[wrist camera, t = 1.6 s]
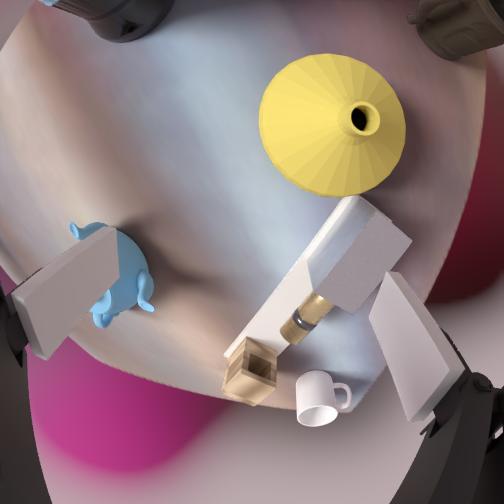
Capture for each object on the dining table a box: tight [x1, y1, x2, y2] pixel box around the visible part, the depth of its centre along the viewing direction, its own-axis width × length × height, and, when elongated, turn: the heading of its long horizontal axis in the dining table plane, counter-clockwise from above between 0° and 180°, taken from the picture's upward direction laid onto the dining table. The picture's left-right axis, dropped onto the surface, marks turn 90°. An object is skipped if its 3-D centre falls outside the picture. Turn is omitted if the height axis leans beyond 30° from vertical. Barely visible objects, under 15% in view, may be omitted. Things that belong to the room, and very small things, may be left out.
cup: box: [296, 370, 352, 426], centre depth 52 cm, size 8×12×10 cm
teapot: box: [69, 222, 155, 328], centre depth 43 cm, size 17×19×12 cm
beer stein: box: [407, 0, 504, 60], centre depth 18 cm, size 15×11×20 cm
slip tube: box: [280, 290, 335, 345], centre depth 39 cm, size 20×4×4 cm, turn 149°
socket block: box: [221, 336, 277, 406], centre depth 49 cm, size 7×7×10 cm
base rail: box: [224, 195, 392, 358], centre depth 48 cm, size 9×40×1 cm, turn 149°
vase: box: [259, 54, 406, 198], centre depth 28 cm, size 18×18×19 cm
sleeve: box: [307, 195, 412, 314], centre depth 38 cm, size 7×13×10 cm, turn 149°
